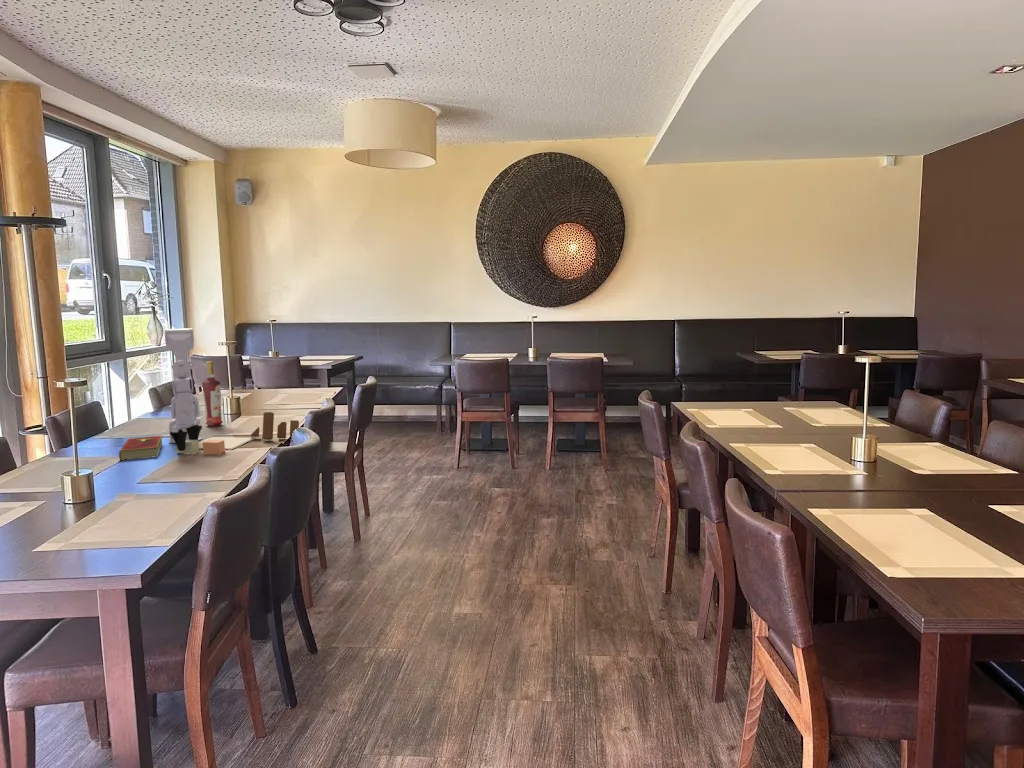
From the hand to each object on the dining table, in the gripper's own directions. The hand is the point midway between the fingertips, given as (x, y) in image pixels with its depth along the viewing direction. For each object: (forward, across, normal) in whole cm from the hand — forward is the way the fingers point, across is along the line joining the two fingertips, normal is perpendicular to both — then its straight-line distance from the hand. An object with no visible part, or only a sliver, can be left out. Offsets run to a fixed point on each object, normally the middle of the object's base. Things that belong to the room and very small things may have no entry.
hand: (187, 448), depth 250 cm
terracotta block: (+2, 0, -10) cm, 10 cm away
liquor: (+2, +48, +17) cm, 51 cm away
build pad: (+2, +14, -5) cm, 15 cm away
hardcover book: (+2, 0, +18) cm, 18 cm away
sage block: (+2, 0, 0) cm, 2 cm away
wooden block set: (+2, +23, -22) cm, 32 cm away
